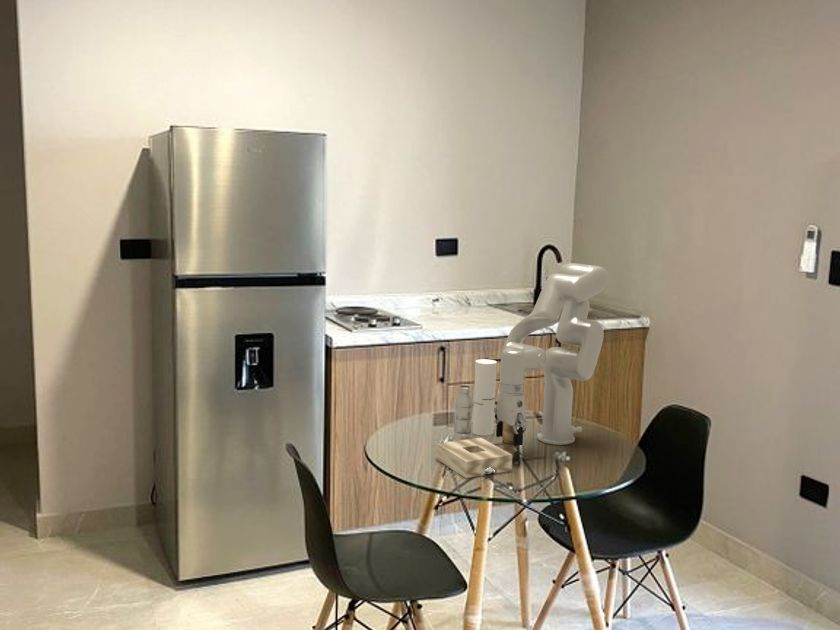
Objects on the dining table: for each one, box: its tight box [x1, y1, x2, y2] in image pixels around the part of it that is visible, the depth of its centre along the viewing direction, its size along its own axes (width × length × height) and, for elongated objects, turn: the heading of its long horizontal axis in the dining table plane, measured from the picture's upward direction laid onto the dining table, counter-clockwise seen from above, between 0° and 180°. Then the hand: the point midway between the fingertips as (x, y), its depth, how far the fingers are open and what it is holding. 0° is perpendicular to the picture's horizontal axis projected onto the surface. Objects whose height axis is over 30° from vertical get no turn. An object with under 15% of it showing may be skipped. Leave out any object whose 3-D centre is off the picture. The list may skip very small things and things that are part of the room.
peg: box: [501, 421, 517, 460], centre depth 268 cm, size 4×4×12 cm
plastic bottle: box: [452, 384, 474, 441], centre depth 277 cm, size 6×7×20 cm
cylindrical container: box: [472, 358, 498, 437], centre depth 292 cm, size 7×7×25 cm
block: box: [435, 437, 513, 479], centre depth 261 cm, size 16×18×5 cm
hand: (509, 440), depth 269 cm, fingers open, 9 cm apart
